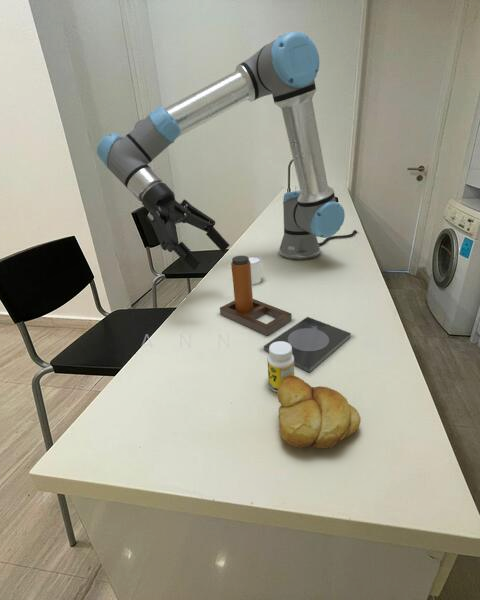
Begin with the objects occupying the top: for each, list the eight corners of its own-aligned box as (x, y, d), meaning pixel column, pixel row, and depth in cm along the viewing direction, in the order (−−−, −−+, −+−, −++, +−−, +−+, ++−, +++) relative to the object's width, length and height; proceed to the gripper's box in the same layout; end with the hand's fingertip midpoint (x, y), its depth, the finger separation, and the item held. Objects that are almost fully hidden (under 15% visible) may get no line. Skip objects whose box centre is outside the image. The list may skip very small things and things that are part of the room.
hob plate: (307, 320, 82) (307, 316, 81) (350, 336, 74) (351, 332, 74) (263, 349, 71) (263, 345, 71) (309, 372, 64) (309, 368, 63)
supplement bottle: (264, 380, 62) (262, 343, 59) (287, 373, 64) (286, 337, 60) (274, 396, 58) (273, 358, 55) (298, 388, 60) (298, 351, 56)
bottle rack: (245, 301, 92) (244, 295, 91) (291, 320, 82) (291, 313, 81) (220, 314, 86) (219, 307, 85) (267, 336, 76) (267, 328, 75)
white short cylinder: (260, 286, 101) (259, 264, 98) (238, 284, 102) (236, 263, 99) (265, 277, 107) (264, 256, 104) (244, 276, 108) (243, 255, 105)
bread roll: (357, 411, 55) (361, 373, 51) (363, 463, 46) (368, 422, 43) (280, 405, 57) (279, 368, 53) (272, 454, 48) (270, 413, 44)
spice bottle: (244, 307, 89) (240, 253, 82) (257, 312, 86) (253, 257, 79) (232, 313, 86) (226, 259, 79) (244, 319, 83) (240, 263, 76)
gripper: (176, 194, 93) (228, 250, 94) (107, 214, 72) (175, 285, 74) (189, 174, 88) (243, 233, 90) (120, 189, 68) (192, 265, 70)
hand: (213, 257), depth 82 cm, fingers open, 13 cm apart
